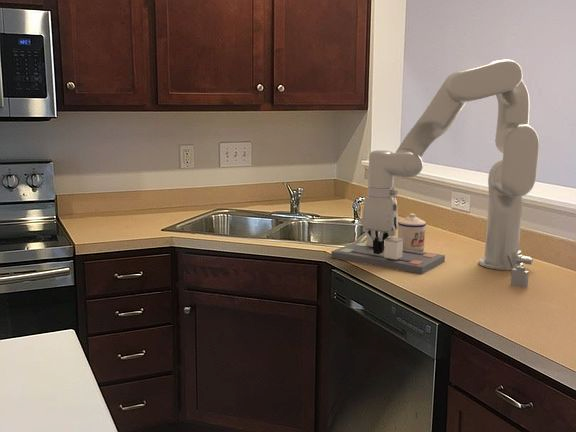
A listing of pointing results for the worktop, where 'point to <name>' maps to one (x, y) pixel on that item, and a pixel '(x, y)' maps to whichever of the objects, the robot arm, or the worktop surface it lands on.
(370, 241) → the on switch
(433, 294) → the worktop surface
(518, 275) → the lighter
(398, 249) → the beige slider knob
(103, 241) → the worktop surface
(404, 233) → the teacup with lid
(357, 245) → the panel
